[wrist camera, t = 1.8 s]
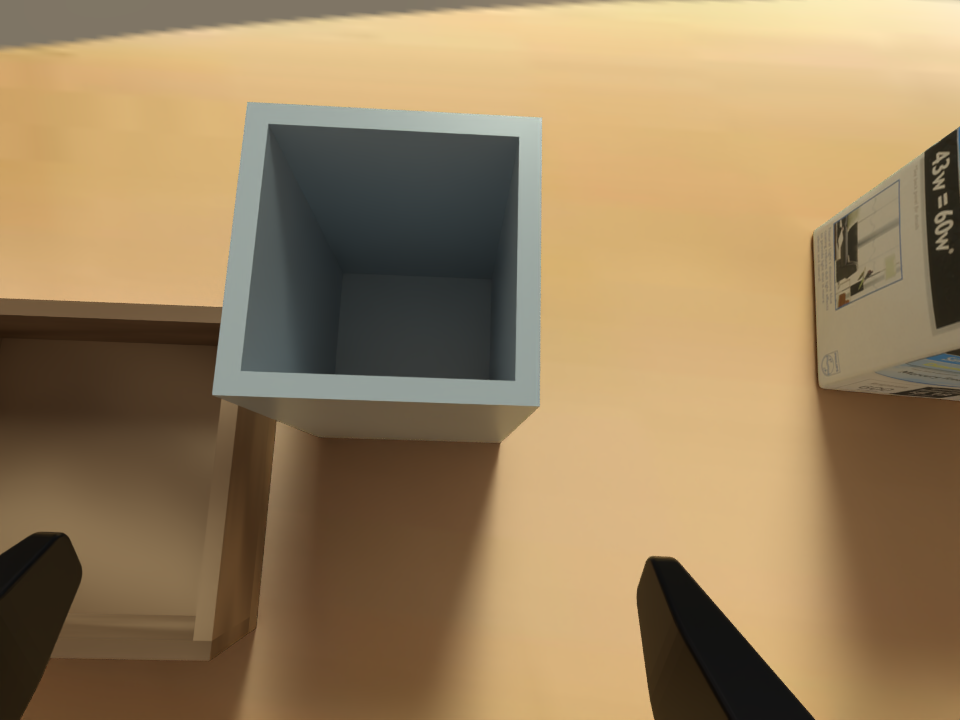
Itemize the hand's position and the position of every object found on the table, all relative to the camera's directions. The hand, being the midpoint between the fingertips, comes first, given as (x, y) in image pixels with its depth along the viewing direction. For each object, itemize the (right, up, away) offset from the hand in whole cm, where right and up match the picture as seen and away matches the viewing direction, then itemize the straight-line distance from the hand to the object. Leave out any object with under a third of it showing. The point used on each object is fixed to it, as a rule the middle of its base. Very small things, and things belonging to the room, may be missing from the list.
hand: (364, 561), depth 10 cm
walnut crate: (-10, -1, +12) cm, 16 cm away
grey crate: (-1, +3, +13) cm, 13 cm away
